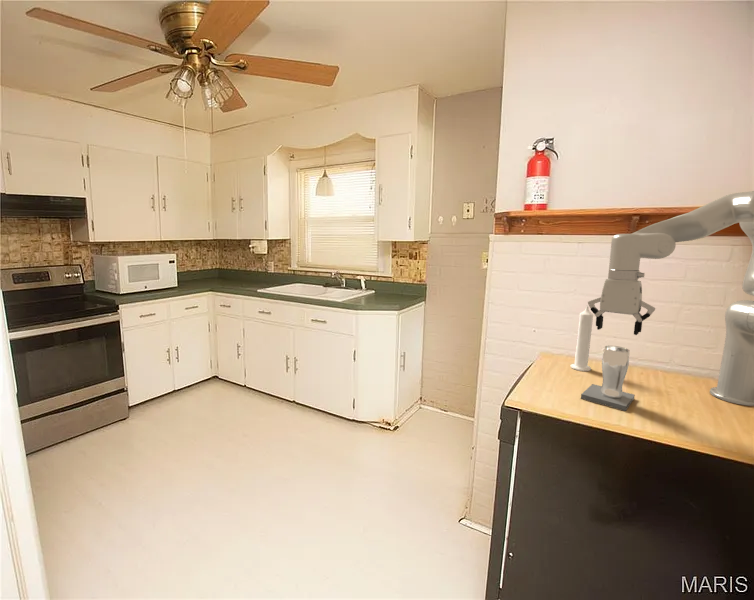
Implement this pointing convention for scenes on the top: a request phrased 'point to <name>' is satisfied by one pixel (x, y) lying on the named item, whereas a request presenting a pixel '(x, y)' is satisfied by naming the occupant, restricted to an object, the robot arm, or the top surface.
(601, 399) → the slate coaster
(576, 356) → the candle
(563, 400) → the top surface
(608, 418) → the top surface
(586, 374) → the top surface
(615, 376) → the beer glass
